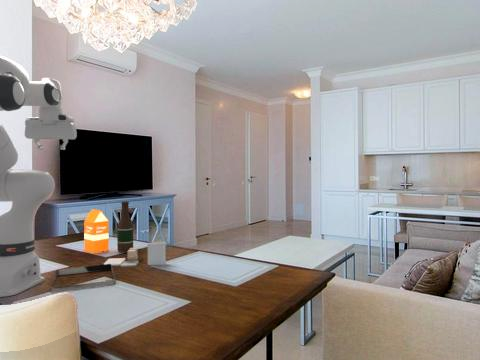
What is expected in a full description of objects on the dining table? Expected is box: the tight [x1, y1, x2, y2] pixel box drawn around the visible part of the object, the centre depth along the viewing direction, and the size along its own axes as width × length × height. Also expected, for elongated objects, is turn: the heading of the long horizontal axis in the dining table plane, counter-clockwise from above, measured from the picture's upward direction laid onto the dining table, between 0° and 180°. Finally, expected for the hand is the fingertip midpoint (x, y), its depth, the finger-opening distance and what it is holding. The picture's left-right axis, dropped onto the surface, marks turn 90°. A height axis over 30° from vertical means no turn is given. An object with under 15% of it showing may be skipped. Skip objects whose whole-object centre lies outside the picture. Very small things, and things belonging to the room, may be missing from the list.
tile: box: [147, 241, 167, 266], centre depth 141 cm, size 2×7×9 cm, turn 97°
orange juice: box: [83, 208, 110, 254], centre depth 165 cm, size 8×9×20 cm
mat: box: [103, 257, 126, 267], centre depth 143 cm, size 10×7×1 cm
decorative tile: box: [49, 263, 116, 293], centre depth 121 cm, size 20×3×20 cm
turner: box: [120, 247, 139, 268], centre depth 143 cm, size 12×6×5 cm, turn 7°
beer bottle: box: [116, 200, 134, 253], centre depth 165 cm, size 8×8×24 cm
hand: (51, 149), depth 148 cm, fingers open, 8 cm apart
